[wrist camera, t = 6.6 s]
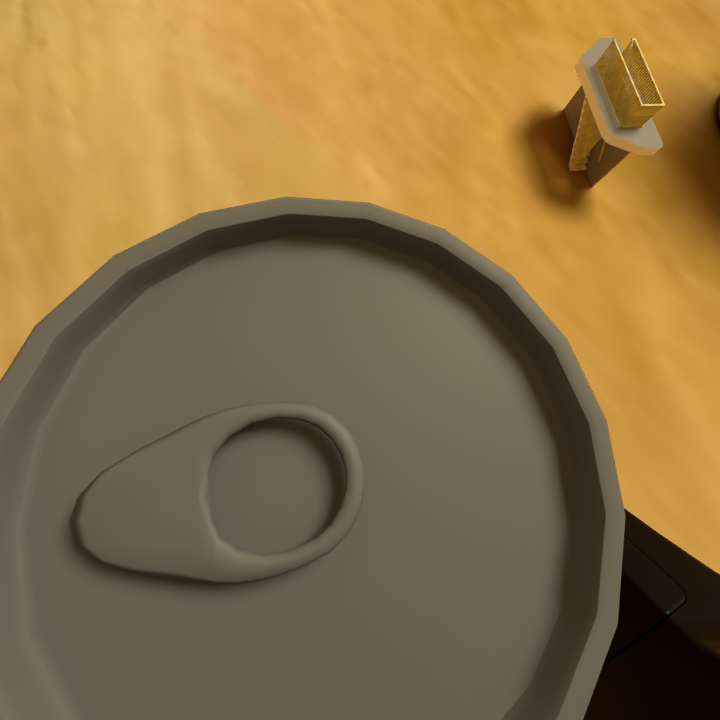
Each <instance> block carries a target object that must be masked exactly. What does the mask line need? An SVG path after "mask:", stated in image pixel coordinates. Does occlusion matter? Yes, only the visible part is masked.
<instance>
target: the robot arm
mask: <svg viewBox="0 0 720 720" xmlns="http://www.w3.org/2000/svg"><path fill="white" fill-rule="evenodd" d="M624 512H625V529H624V543H623V558H622V572H621V586H620V600H619V614H618V625H617V628H616V630H615V633H614V636H613V639H612V642H611V644H610V647H609V650H608V653H607V655H606V658H605V661H604V664H603V666H602V669H601V672H600V675H599V677H598V680H597V683H596V686H595V688H594V691H593V694H592V697H591V699H590V702H589V705H588V708H587V710H586V713H585V716H584V719H583V720H720V574H718V573H717V572H715V571H714V570H712V569H711V568H709V567H708V566H706V565H705V564H703V563H702V562H700V561H699V560H697V559H696V558H694V557H693V556H691V555H690V554H688V553H687V552H685V551H684V550H682V549H681V548H680V547H678V546H677V545H675V544H674V543H672V542H671V541H669V540H668V539H666V538H665V537H663V536H662V535H661V534H659V533H658V532H656V531H655V530H653V529H652V528H651V527H649V526H648V525H647V524H645V523H644V522H642V521H641V520H640V519H638V518H637V517H635V516H634V515H633V514H631V513H630V512H628V511H627V510H626V509H624Z"/></svg>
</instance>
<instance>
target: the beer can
mask: <svg viewBox="0 0 720 720" xmlns="http://www.w3.org/2000/svg"><path fill="white" fill-rule="evenodd" d="M624 529H625V512H624V507H623V501H622V496H621V491H620V486H619V481H618V476H617V471H616V466H615V461H614V456H613V451H612V446H611V441H610V435H609V430H608V425H607V420H606V418H605V416H604V414H603V412H602V410H601V408H600V406H599V404H598V402H597V400H596V397H595V395H594V393H593V391H592V389H591V387H590V385H589V383H588V381H587V379H586V377H585V375H584V373H583V371H582V369H581V367H580V365H579V363H578V361H577V358H576V356H575V354H574V352H573V350H572V348H571V346H570V344H569V342H568V340H567V338H566V337H565V336H564V335H563V334H562V333H561V331H560V330H559V329H558V328H557V327H556V326H555V325H554V323H553V322H552V321H551V320H550V319H549V318H548V316H547V315H546V314H545V313H544V312H543V311H542V309H541V308H540V307H539V306H538V305H537V304H536V302H535V301H534V300H533V299H532V298H531V297H530V296H529V294H528V293H527V292H526V291H525V290H524V289H523V287H522V286H521V285H520V284H519V283H518V282H517V280H516V279H515V278H514V277H513V276H512V275H511V274H510V273H508V272H507V271H505V270H504V269H502V268H501V267H499V266H498V265H496V264H495V263H493V262H492V261H490V260H489V259H488V258H486V257H485V256H483V255H482V254H480V253H479V252H477V251H476V250H474V249H473V248H471V247H470V246H468V245H467V244H466V243H464V242H463V241H461V240H460V239H458V238H457V237H455V236H454V235H452V234H451V233H449V232H448V231H446V230H445V229H442V228H440V227H437V226H434V225H431V224H428V223H425V222H422V221H420V220H417V219H414V218H411V217H408V216H405V215H402V214H399V213H397V212H394V211H391V210H388V209H385V208H382V207H379V206H377V205H374V204H371V203H366V202H352V201H338V200H325V199H311V198H297V197H282V198H276V199H271V200H266V201H261V202H256V203H251V204H246V205H241V206H235V207H230V208H225V209H220V210H215V211H210V212H205V213H199V214H197V215H195V216H193V217H191V218H189V219H187V220H185V221H183V222H181V223H179V224H177V225H175V226H173V227H171V228H169V229H167V230H165V231H163V232H161V233H159V234H157V235H155V236H153V237H151V238H149V239H147V240H145V241H143V242H141V243H139V244H137V245H135V246H133V247H131V248H128V249H126V250H124V251H122V252H120V253H118V254H116V255H114V256H113V257H112V258H111V259H110V260H108V261H107V262H106V263H105V264H104V265H103V266H102V267H101V268H100V269H98V270H97V271H96V272H95V273H94V274H93V275H92V276H91V277H89V278H88V279H87V280H86V281H85V282H84V283H83V284H82V285H80V286H79V287H78V288H77V289H76V290H75V291H74V292H73V293H71V294H70V295H69V296H68V297H67V298H66V299H65V300H64V301H62V302H61V303H60V304H59V305H58V306H57V307H56V308H55V309H54V310H52V311H51V312H50V313H49V314H48V315H47V316H46V317H45V318H43V319H42V320H41V321H40V322H39V323H38V324H37V325H36V326H35V327H34V328H33V330H32V332H31V333H30V335H29V336H28V338H27V339H26V341H25V343H24V344H23V346H22V347H21V349H20V351H19V352H18V354H17V355H16V357H15V358H14V360H13V362H12V363H11V365H10V366H9V368H8V370H7V371H6V373H5V374H4V376H3V377H2V379H1V381H0V720H583V719H584V716H585V713H586V710H587V708H588V705H589V702H590V699H591V697H592V694H593V691H594V688H595V686H596V683H597V680H598V677H599V675H600V672H601V669H602V666H603V664H604V661H605V658H606V655H607V653H608V650H609V647H610V644H611V642H612V639H613V636H614V633H615V630H616V628H617V625H618V614H619V600H620V586H621V572H622V558H623V543H624Z"/></svg>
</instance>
